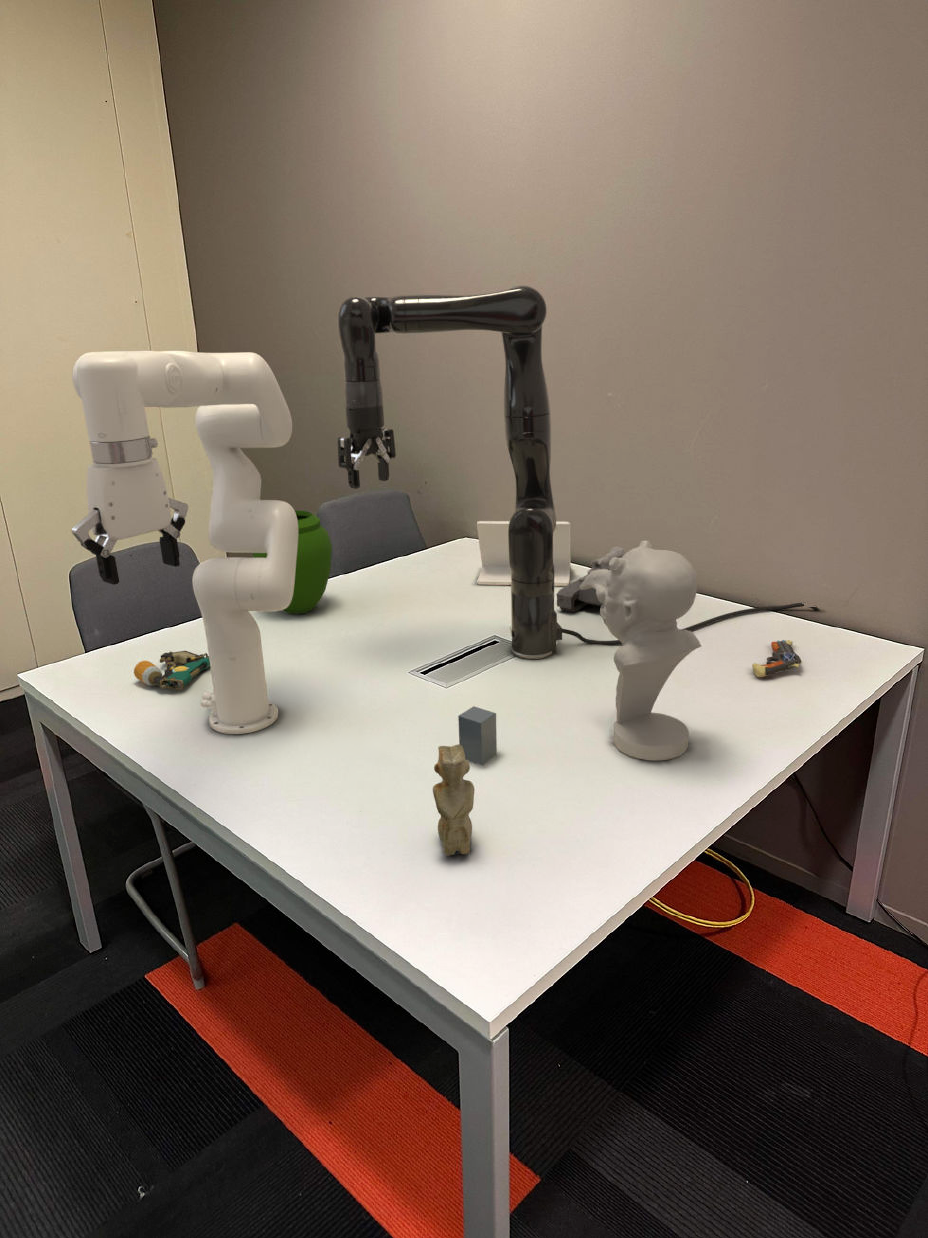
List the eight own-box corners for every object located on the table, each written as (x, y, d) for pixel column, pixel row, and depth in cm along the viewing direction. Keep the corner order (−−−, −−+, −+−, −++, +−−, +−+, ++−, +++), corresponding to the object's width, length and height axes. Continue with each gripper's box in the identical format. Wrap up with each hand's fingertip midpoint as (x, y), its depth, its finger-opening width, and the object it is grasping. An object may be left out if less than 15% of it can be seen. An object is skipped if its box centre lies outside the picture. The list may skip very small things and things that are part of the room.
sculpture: (474, 829, 125) (472, 739, 120) (477, 859, 119) (474, 765, 113) (434, 831, 125) (430, 741, 120) (435, 861, 119) (431, 767, 113)
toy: (603, 584, 229) (605, 530, 224) (673, 597, 218) (677, 540, 213) (555, 612, 210) (556, 553, 205) (630, 627, 199) (633, 566, 194)
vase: (352, 603, 220) (345, 511, 212) (301, 627, 205) (291, 529, 197) (296, 592, 230) (287, 503, 222) (243, 614, 215) (231, 520, 206)
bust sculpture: (625, 695, 166) (632, 519, 153) (713, 748, 146) (730, 550, 133) (556, 715, 159) (558, 532, 146) (639, 773, 139) (650, 567, 127)
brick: (474, 747, 149) (473, 705, 146) (497, 755, 146) (496, 713, 143) (459, 757, 146) (458, 715, 143) (481, 765, 143) (480, 723, 140)
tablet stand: (569, 585, 229) (570, 524, 223) (476, 584, 232) (475, 523, 226) (570, 566, 246) (571, 508, 240) (484, 564, 249) (483, 507, 243)
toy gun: (755, 668, 170) (808, 665, 168) (743, 639, 188) (791, 635, 186) (755, 681, 171) (808, 678, 169) (744, 650, 189) (791, 647, 187)
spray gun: (177, 659, 191) (231, 671, 185) (120, 684, 176) (176, 698, 171) (176, 641, 190) (230, 653, 184) (118, 665, 175) (174, 678, 169)
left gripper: (161, 440, 123) (178, 554, 129) (45, 459, 110) (70, 585, 116) (192, 444, 119) (209, 562, 125) (76, 464, 106) (100, 595, 112)
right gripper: (374, 398, 177) (379, 476, 183) (324, 406, 167) (331, 488, 173) (401, 400, 173) (406, 480, 179) (352, 408, 163) (358, 492, 168)
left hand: (142, 573), depth 121 cm, fingers open, 9 cm apart
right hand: (369, 484), depth 176 cm, fingers open, 8 cm apart
